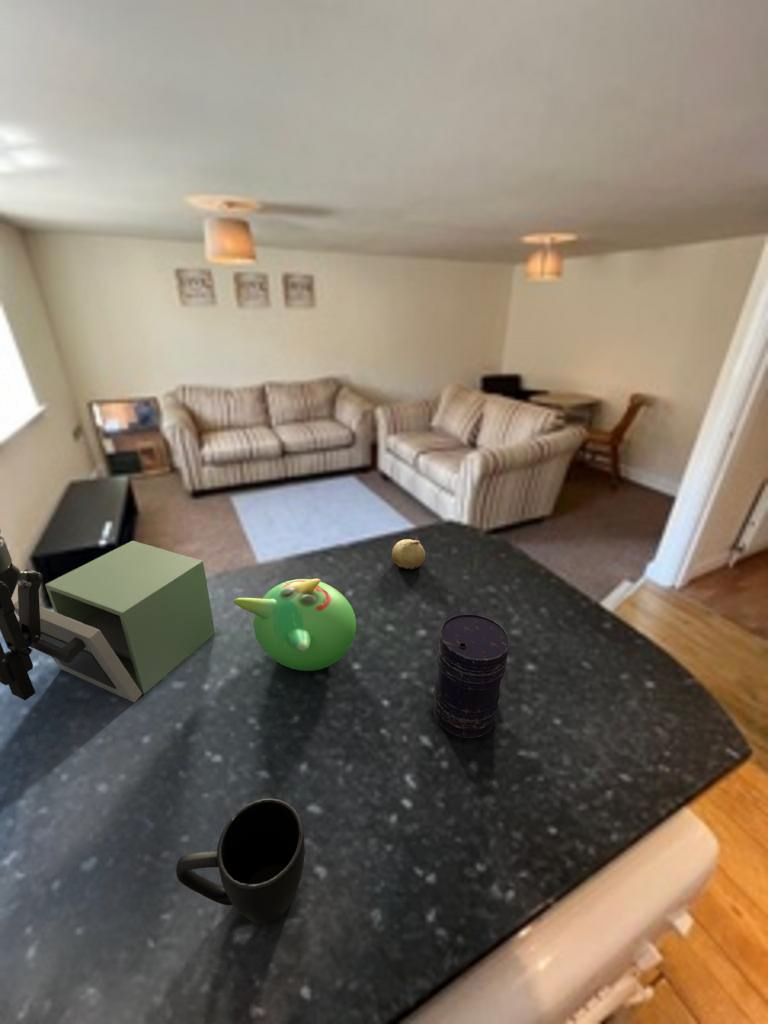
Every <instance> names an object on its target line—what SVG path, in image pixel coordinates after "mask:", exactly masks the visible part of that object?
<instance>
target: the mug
mask: <svg viewBox="0 0 768 1024" xmlns="http://www.w3.org/2000/svg"><path fill="white" fill-rule="evenodd" d="M226 823H227V824H225V826H224V828H223V830H222V832H221V834H220V836H219V839H218V844H217V848H216V850H205V851H197V852H192V853H188V854H185V855H182V856H180V858H179V859H178V861H177V862H176V866H175V874H176V875H175V876H176V878H177V880H178V882H179V883H181V884H182V885H183V886H185V887H186V888H188V889H190V890H192V891H193V892H194V893H198V894H199V895H201V896H203V897H205V898H207V899H209V900H211V901H213V902H215V903H217V904H220V905H224V906H233V907H234V908H235V909H236V910H237V911H238V912H239V913H240V914H241V915H242V916H243V917H245V918H246V919H248V921H250V922H251V923H253V924H255V925H259V926H266V925H270V924H273V923H275V922H276V921H277V922H278V920H280V919H281V918H282V917H284V915H285V914H286V913H287V912H288V910H289V909H290V908H291V905H292V903H293V902H294V898H295V895H296V893H297V891H298V888H299V886H300V884H301V879H302V876H303V870H304V864H305V853H306V850H305V849H306V848H305V834H304V828H303V827H304V826H303V823H302V819H301V816H300V815H299V813H298V812H297V811H296V809H295V807H293V806H291V805H290V804H289V803H288V802H285V801H283V800H281V799H276V798H261V799H258V800H255V801H252V802H250V803H248V804H246V805H245V806H243V807H242V808H240V809H239V810H238V811H236V813H234V815H233V816H231V818H229V820H228V822H226ZM207 868H209V869H210V868H218V872H219V876H220V880H221V883H222V885H221V884H219V883H218V884H217V883H216V882H213V881H211V880H209V879H207V878H206V877H204V876H202V875H200V874H199V873H197V872H195V871H194V870H198V869H207Z"/></svg>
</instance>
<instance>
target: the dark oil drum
mask: <svg viewBox="0 0 768 1024" xmlns="http://www.w3.org/2000/svg"><path fill="white" fill-rule="evenodd" d="M440 628H441V629H440V635H439V642H438V648H437V658H436V659H437V665H438V670H437V675H436V677H435V683H434V689H433V705H432V711H433V715H434V717H435V719H436V721H437V723H438V724H439V725H440V726H441V728H443V729H444V730H445V731H446V732H448V733H450V734H452V735H454V736H457V737H461V738H466V739H473V738H479V737H482V736H485V735H486V734H487V733H489V732H490V731H491V730H492V728H493V727H494V725H495V721H496V718H497V713H498V711H499V705H500V697H501V682H502V679H503V677H504V675H505V673H506V667H507V662H508V653H509V647H510V638H509V635H508V633H507V631H506V630H505V629H504V628H503V626H501V625H500V624H499V623H498V622H496V621H494V620H492V619H491V618H489V617H485V616H482V615H477V614H473V613H471V614H470V613H466V614H457V615H455V616H452V617H450V618H448V619H447V620H446V621H445V622H443V624H442V626H441V627H440Z"/></svg>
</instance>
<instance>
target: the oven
mask: <svg viewBox="0 0 768 1024" xmlns="http://www.w3.org/2000/svg"><path fill="white" fill-rule="evenodd" d="M44 585H45V588H46V592H47V594H48V597H49V600H50V603H51V606H52V609H53V612H55V613H58V614H60V615H63V616H65V617H68V618H70V619H73V620H76V621H78V622H81V623H83V624H86V625H88V626H91V627H93V628H96V629H98V630H100V632H101V633H102V635H103V636H104V638H105V639H106V641H107V642H108V644H109V645H110V647H111V648H112V650H113V651H114V653H115V654H116V656H117V657H118V659H119V660H120V662H121V663H122V665H123V666H124V668H125V669H126V671H127V672H128V674H129V675H130V677H131V678H132V680H133V681H134V683H135V684H136V686H137V687H138V689H139V690H140V692H141V693H142V695H145V694H146V693H148V691H150V690H151V689H152V688H154V687H155V686H156V685H157V684H158V683H159V682H160V681H161V680H162V679H164V678H165V677H166V676H167V675H169V674H170V673H171V672H172V671H173V670H174V669H175V668H176V667H178V666H179V665H180V664H181V663H182V662H184V661H185V660H186V659H187V658H188V657H189V656H191V655H192V654H193V653H194V652H195V651H197V650H198V649H200V647H201V646H202V645H204V644H205V643H206V642H207V641H208V640H210V638H212V637H213V636H214V635H215V634H216V631H215V624H214V618H213V611H212V606H211V600H210V595H209V587H208V581H207V576H206V570H205V565H204V561H203V560H201V559H198V558H194V557H191V556H187V555H184V554H180V553H177V552H173V551H170V550H166V549H163V548H161V547H156V546H153V545H150V544H145V543H142V542H140V541H139V542H138V541H136V540H131V541H129V542H127V543H125V544H123V545H120V546H119V547H117V548H115V549H113V550H111V551H109V552H106V553H105V554H102V555H100V556H99V557H96V558H94V559H93V560H91V561H89V562H87V563H85V564H83V565H81V566H79V567H77V568H75V569H72V570H71V571H69V572H67V573H65V574H63V575H61V576H58V577H57V578H55V579H53V580H51V581H48V582H47V583H45V584H44Z"/></svg>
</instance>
